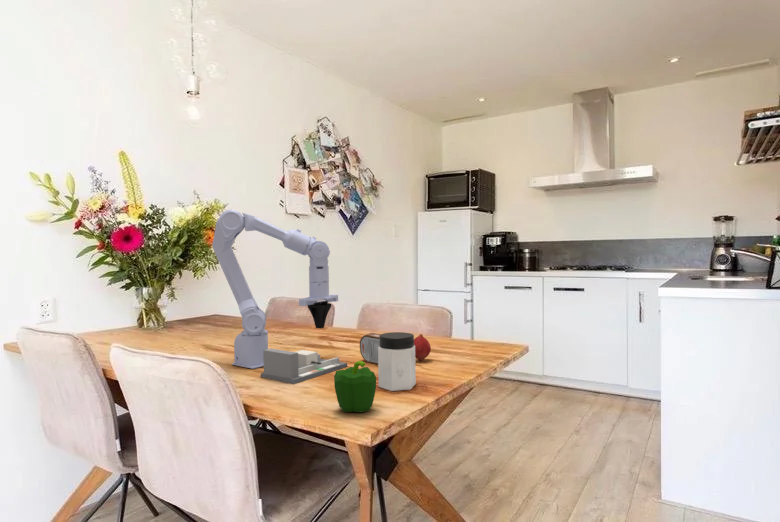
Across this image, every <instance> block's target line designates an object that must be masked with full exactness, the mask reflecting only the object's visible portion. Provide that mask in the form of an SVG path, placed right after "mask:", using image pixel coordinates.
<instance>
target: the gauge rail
mask: <svg viewBox="0 0 780 522" xmlns="http://www.w3.org/2000/svg"><path fill="white" fill-rule="evenodd" d="M263 354H264V366H263V372H261V373H260V378H264V379H267V380H272V381H277V382H281V383H282V382H283V383H287V384H292V385H295V384H298V383H301V382H305V381H307V380H311V379H313V378H317V377H320V376H323V375H326V374H330V373H332V372H336V371H339V370H343V369H344V368H345V369H346V367H347V368H348V362H343V361H340V357H338V356H337V357H333V358H329V359H325V358H321V354H319V353H317V362H321V364H312V365H309V366H305V367H302V368H298V353H297V352H296V351H290V350H284V349H278V348H277V349H276V348H268V349H266V350H263Z"/></svg>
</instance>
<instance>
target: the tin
mask: <svg viewBox="0 0 780 522" xmlns="http://www.w3.org/2000/svg"><path fill="white" fill-rule="evenodd" d="M381 334H382V333H381ZM381 334H380V333H377V332H370V333H366V334H364V335H362V337H361V338H360V340H359V352H360V355H361V357H362V359H363V360H364V361H365V362H367V363H369V364H372V365H377V366H378V347H380V344H379V336H380V335H381Z"/></svg>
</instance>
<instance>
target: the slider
mask: <svg viewBox="0 0 780 522" xmlns="http://www.w3.org/2000/svg"><path fill="white" fill-rule="evenodd" d="M295 352H297V353H298V368H302V367H305V366H309V365H312V364H321V362H317V354H318V352H317V351H312V350H311V351H310V350H306V349H301V350H296V351H295Z"/></svg>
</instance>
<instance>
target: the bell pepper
mask: <svg viewBox="0 0 780 522" xmlns="http://www.w3.org/2000/svg"><path fill="white" fill-rule="evenodd" d="M359 367H361V368H359ZM333 380H334V390H335V394H336V395H335V396H336V400H337V404H338V405H339V406H338V407H339V408H340V409H341V411H343V412H345V413H350V412H356V413H364V412H368V411H369V410H371V408H372V406H373V405H374V400H375V396H376V390H377V389H376V388H377V377H376V374H375V372H374V371H372V370H371V369H370V368H369V367H368V366H366V362H364V361H361V360H358V361H355V362H354V364H353V366H349V367H347V368H345V369H339V370H335V373H334V377H333Z"/></svg>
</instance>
